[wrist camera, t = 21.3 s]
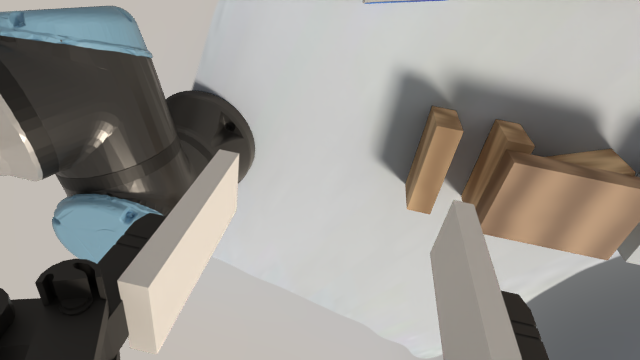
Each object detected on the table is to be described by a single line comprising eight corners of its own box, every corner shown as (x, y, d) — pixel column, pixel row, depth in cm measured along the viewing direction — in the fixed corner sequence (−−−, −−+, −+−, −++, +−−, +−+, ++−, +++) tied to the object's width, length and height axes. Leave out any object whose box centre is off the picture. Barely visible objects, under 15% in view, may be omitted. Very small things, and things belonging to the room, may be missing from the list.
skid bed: (405, 184, 55) (406, 209, 50) (432, 105, 48) (436, 125, 43) (482, 200, 55) (491, 227, 50) (519, 124, 48) (535, 146, 43)
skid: (506, 192, 54) (517, 218, 49) (506, 161, 51) (518, 185, 46) (605, 181, 51) (628, 208, 46) (610, 147, 48) (635, 172, 43)
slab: (471, 217, 49) (477, 232, 47) (506, 149, 43) (514, 162, 41) (595, 243, 49) (607, 260, 46) (646, 178, 43) (662, 194, 41)
